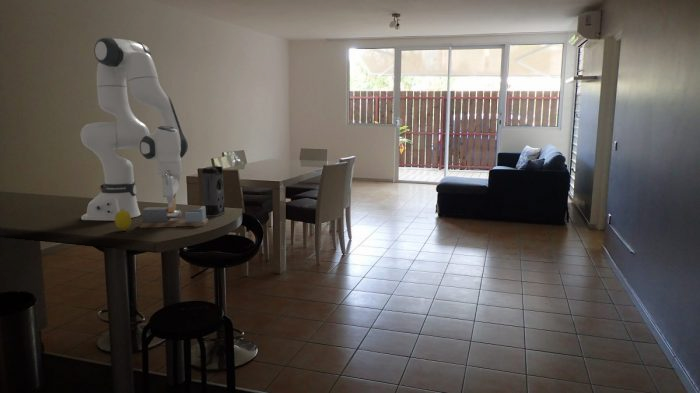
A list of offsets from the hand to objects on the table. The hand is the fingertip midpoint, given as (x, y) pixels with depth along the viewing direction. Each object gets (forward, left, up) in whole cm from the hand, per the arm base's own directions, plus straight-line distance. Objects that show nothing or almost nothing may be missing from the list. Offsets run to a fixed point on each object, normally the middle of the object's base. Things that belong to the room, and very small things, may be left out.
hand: (172, 205), depth 206 cm
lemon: (-16, -9, -8) cm, 20 cm away
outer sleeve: (-6, 0, -6) cm, 9 cm away
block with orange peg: (-4, 0, -5) cm, 7 cm away
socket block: (+9, 0, -6) cm, 11 cm away
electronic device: (+12, +18, -8) cm, 23 cm away
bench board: (+1, 0, -8) cm, 8 cm away
